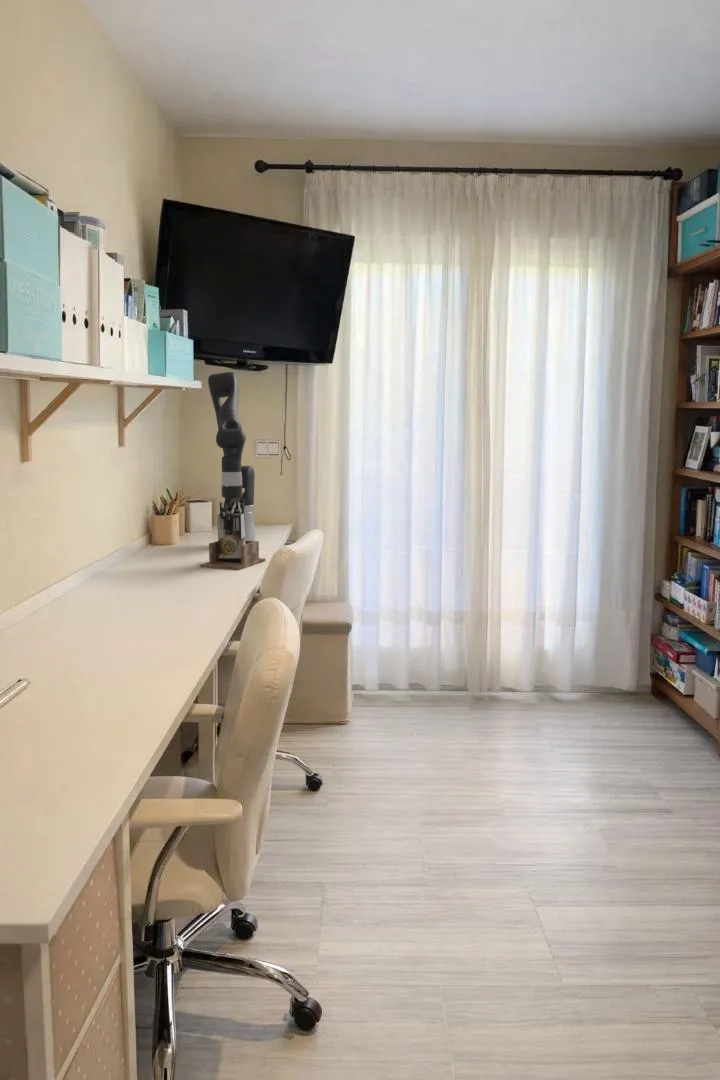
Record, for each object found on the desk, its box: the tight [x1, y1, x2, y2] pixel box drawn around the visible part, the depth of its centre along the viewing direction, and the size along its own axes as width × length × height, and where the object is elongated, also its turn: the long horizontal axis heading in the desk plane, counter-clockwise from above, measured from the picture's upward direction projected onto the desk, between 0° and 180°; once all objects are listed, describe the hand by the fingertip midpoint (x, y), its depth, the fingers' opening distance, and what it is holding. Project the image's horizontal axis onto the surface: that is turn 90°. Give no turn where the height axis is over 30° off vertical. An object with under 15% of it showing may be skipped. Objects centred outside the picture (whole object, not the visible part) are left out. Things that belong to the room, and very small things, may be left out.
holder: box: [199, 540, 266, 571], centre depth 330 cm, size 20×16×8 cm
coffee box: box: [216, 513, 246, 558], centre depth 329 cm, size 9×6×16 cm
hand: (232, 528), depth 329 cm, fingers closed on coffee box, 7 cm apart
